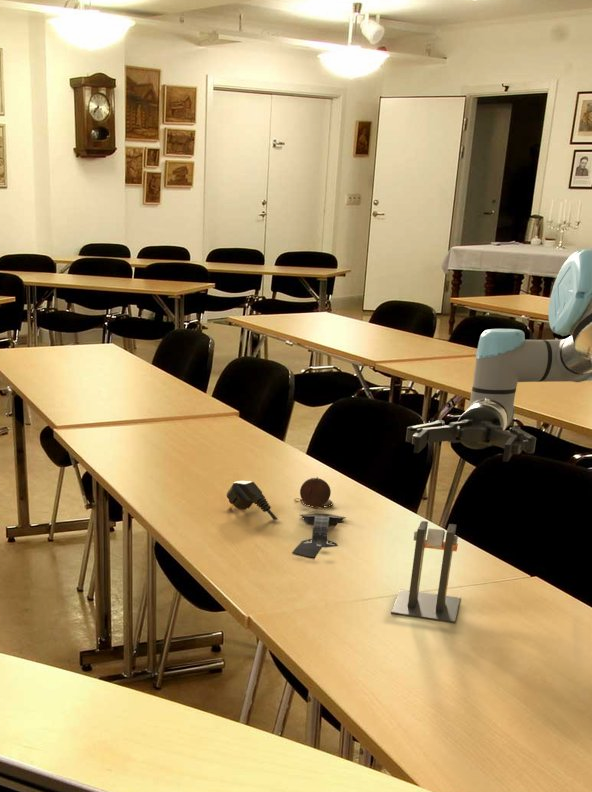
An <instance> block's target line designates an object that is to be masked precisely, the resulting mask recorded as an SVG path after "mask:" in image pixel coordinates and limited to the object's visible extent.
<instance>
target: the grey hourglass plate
mask: <svg viewBox="0 0 592 792" xmlns="http://www.w3.org/2000/svg"><path fill="white" fill-rule="evenodd" d="M299 516H300V517H301V519H303V518H304V519H303V521H305V524H307V525H313V528H312V535H311V538H310V539H305V540H301V542H300V543H299V544H298V545H297V546H296V547H295V548H294V549H293V550H292V552H291V554H293V555H298V556H302V557H306V558H308V559H316V558H317V556H318V555H319V553H320V551H321V550H322V548H334V547H335V548H337V547H339V545H338V544H337V543H336V542H334V541H331V540H329V539H328V536H329V535H328V533H329V526H331V527H332V526H335V527H336V526H337V525H338V524H340V523H342V521H343V520H344V519H347V517H346V516H341V515H336V514H332V513H317V512H315V513H302V514H299Z"/></svg>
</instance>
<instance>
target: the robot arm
mask: <svg viewBox="0 0 592 792" xmlns="http://www.w3.org/2000/svg"><path fill="white" fill-rule="evenodd" d="M548 324H549V327H550V329H551V331H552V332H553V333H554V334H557V335H560V336H561V337H565V336H568V335H570V336H568V337H566V338H561V339H526V338H525V337H526V336H525V332H524V331H523V330H521V329H517V328H490V329H485V330H484V331H483V332H482V333H481V334H480V336H479V340H478V344H477V349H476V352H475V353H476V354H475V363H474V371H473V379H472V380H473V381H472V388H471V392H470V398H469V404H468V408H467V409H466V410H465V411H464V412H463V413H462V414H461V415H460V416H459V418H458V419H457V421H452V422H449V424H448V425H447V424H445V420H442V419H438V420H437V419H436V420H435V421H431V422H427V423H421V424H416V425H411V426H407V427H406V435H405V442H406V443H411V445H413V454H419V453H420V452H422V450H423V449H425V447H427V444H431V443H433V444H434V443H441V442H442V443H443V442H448V443H452V444H457V443H459V444H460V443H461V445H463V447H466V448H469V449H471V450H484V449H487V448H490V447H499V448H501V449H504V450H503V457H502V462H506V463H508V462H509V461H510V459H511V457H512V456H513V455H519V454H521V453H522V451H523V452H525V453H526V454H531V455H532V454H534V453H535V449H536V442H537V437H535V436H534V435H532V434H530V433H529V432H526V431H525V430H523V429H522V428H521V426H519V425H514V426H512V427H509V426H510V425H511V423H512V422H513V420H514V417H515V405H514V404H515V397H516V391H517V387H518V383H539V382H540V383H541V382H543V383H545V382H546V383H547V382H548V383H549V382H552V383H553V382H558V383H559V382H562V383H563V382H572V383H583V382H589V381H590V382H591V381H592V248H583V249H580V250H577V251H576V252H573V253H572V254H571V255H570V256H569V257H568V258H567V260H565V262H564V263H563V265H561V268H560V270H559V272H558V273H557V277H556V278H555V280H554V283H553V286H552V290H551V294H550V299H549V303H548ZM508 427H509V429H507V428H508ZM506 429H507V430H506Z"/></svg>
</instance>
